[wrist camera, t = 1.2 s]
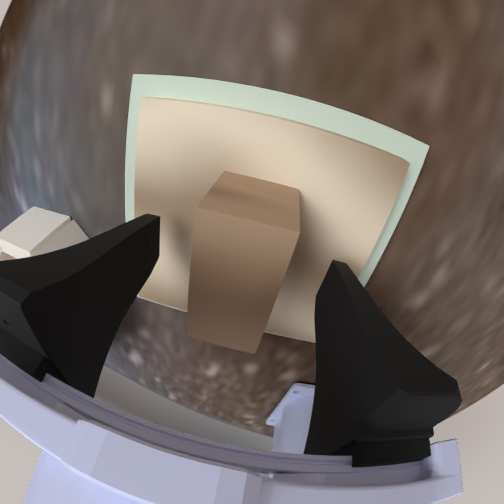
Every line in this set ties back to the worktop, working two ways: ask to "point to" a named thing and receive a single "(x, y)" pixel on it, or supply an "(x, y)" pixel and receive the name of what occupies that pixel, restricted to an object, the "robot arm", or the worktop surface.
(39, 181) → the worktop surface
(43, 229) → the bowl
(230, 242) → the lid
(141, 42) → the worktop surface
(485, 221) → the worktop surface
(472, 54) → the worktop surface
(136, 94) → the mat
